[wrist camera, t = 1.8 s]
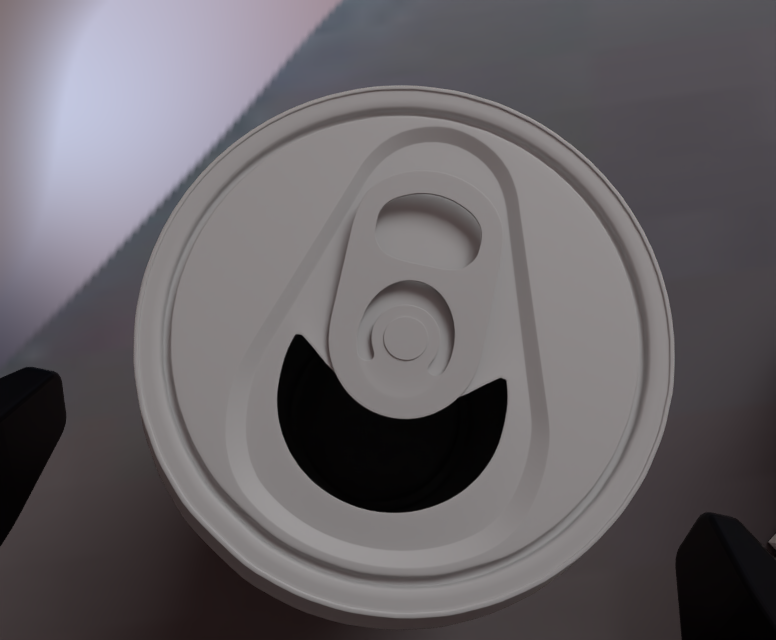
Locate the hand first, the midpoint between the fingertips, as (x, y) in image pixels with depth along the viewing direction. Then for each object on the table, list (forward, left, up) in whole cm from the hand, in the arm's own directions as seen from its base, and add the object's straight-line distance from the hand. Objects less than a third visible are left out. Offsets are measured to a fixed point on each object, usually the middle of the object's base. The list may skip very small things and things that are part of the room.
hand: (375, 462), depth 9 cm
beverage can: (+1, 0, -9) cm, 9 cm away
